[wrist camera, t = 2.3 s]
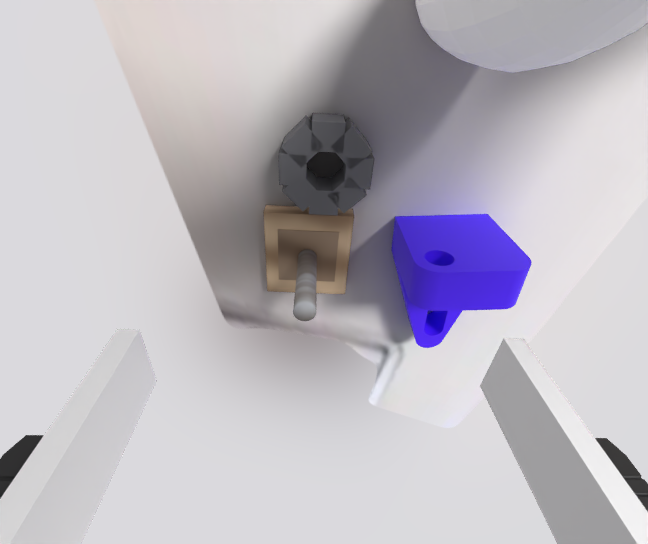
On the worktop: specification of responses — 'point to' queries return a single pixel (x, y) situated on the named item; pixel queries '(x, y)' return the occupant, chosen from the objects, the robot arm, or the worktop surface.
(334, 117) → the dark grey gear
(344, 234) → the peg base board
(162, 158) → the worktop surface
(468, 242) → the bracket
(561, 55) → the bottle
